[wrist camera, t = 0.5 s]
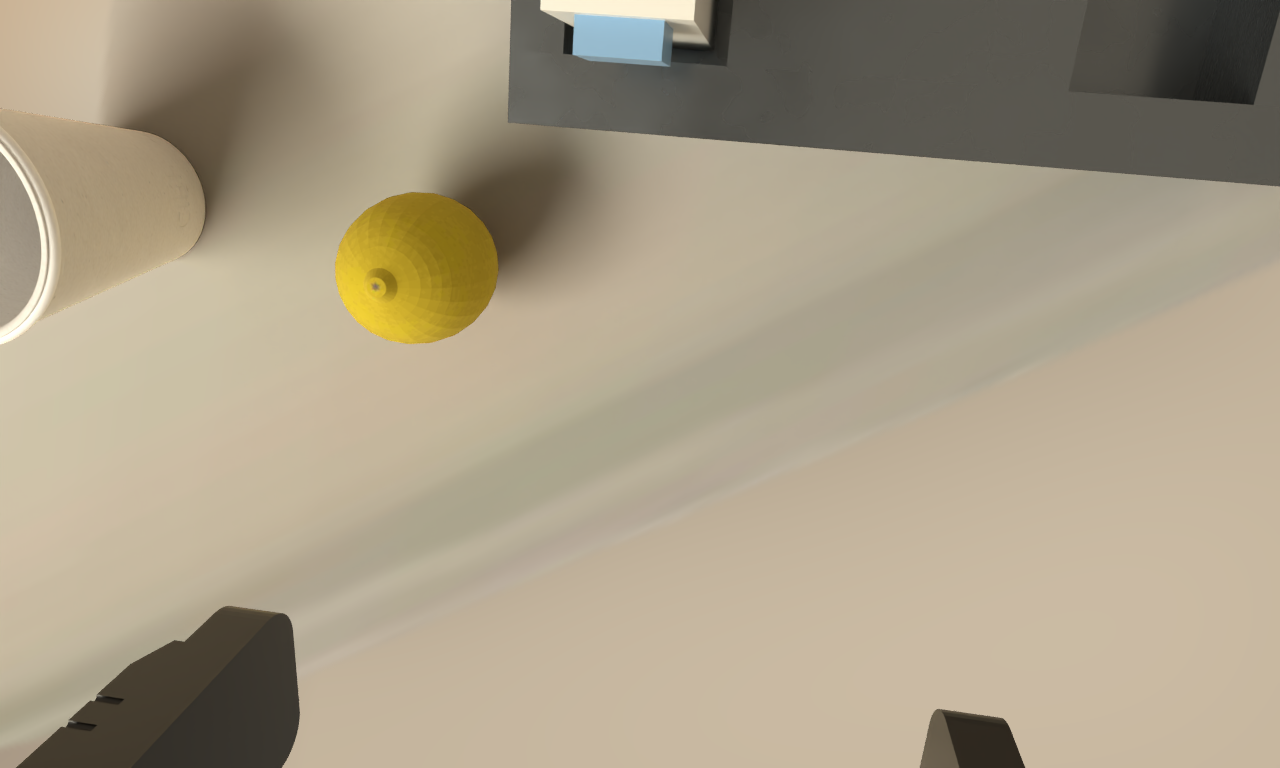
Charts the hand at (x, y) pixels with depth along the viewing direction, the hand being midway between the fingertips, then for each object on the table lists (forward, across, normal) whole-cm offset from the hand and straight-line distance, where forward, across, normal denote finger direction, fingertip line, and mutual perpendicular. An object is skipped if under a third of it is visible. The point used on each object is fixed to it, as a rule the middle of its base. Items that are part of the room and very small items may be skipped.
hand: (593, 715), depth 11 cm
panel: (+26, -5, -11) cm, 29 cm away
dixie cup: (+26, +25, -1) cm, 36 cm away
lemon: (+26, +11, 0) cm, 28 cm away
